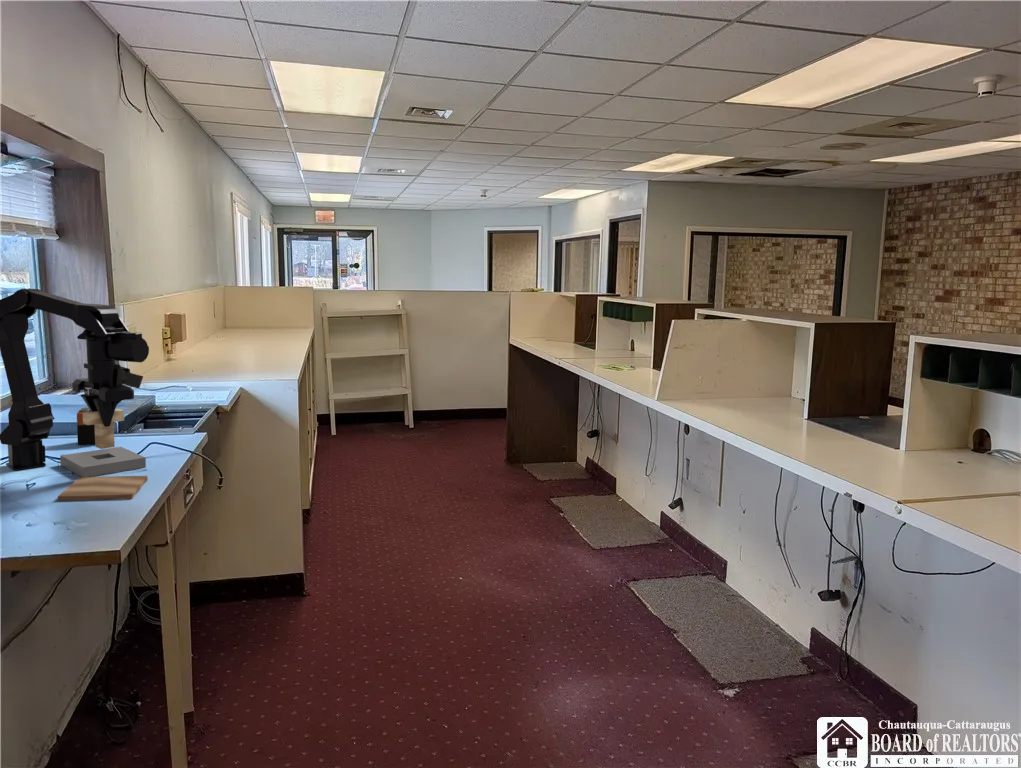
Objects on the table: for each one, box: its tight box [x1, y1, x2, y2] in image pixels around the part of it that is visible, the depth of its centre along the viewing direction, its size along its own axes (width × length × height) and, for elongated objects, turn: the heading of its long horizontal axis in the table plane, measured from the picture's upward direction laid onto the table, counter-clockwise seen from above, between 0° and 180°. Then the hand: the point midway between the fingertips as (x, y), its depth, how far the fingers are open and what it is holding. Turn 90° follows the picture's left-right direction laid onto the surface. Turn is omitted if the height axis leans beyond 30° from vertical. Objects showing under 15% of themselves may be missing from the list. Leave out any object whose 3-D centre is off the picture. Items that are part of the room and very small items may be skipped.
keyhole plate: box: [59, 446, 147, 477], centre depth 166 cm, size 14×14×2 cm
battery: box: [76, 406, 95, 446], centre depth 186 cm, size 4×7×10 cm, turn 115°
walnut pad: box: [57, 475, 149, 502], centre depth 149 cm, size 14×14×1 cm
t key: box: [83, 408, 125, 450], centre depth 158 cm, size 8×3×8 cm, turn 143°
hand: (104, 425), depth 158 cm, fingers closed on t key, 3 cm apart
